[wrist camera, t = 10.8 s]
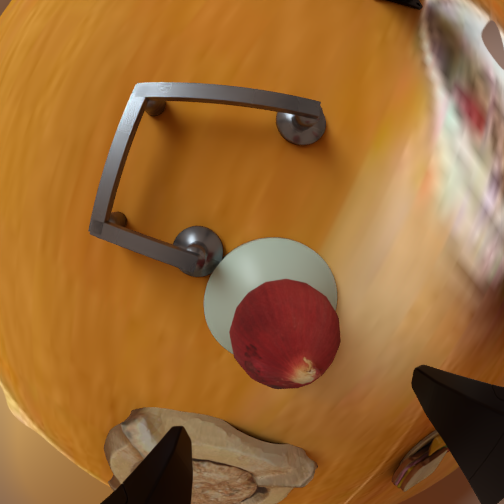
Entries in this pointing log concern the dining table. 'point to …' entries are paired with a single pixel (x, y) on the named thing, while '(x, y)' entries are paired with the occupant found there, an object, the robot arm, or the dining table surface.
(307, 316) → the onion
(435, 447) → the toy sandwich meal
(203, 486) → the ashtray
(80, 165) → the dining table surface
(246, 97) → the rail
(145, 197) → the dining table surface
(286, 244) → the coaster
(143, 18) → the dining table surface
